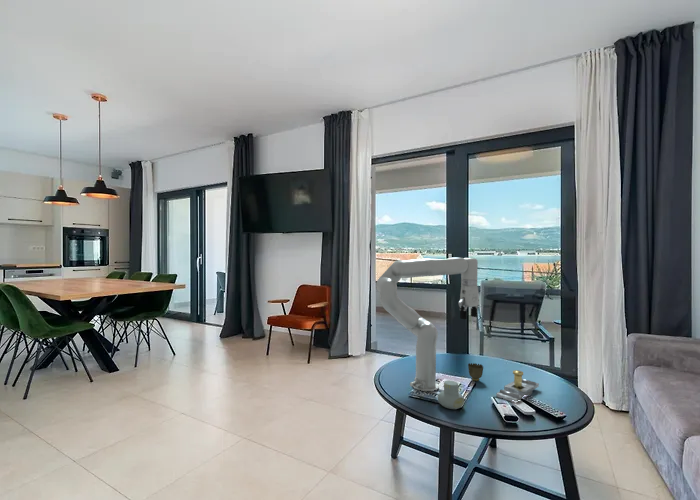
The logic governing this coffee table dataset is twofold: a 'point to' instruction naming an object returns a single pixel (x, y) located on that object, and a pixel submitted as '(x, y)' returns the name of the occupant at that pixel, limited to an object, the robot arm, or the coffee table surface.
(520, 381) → the brass pin
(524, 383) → the plate with square hole
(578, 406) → the coffee table surface
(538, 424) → the coffee table surface
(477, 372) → the cup
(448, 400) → the air freshener
